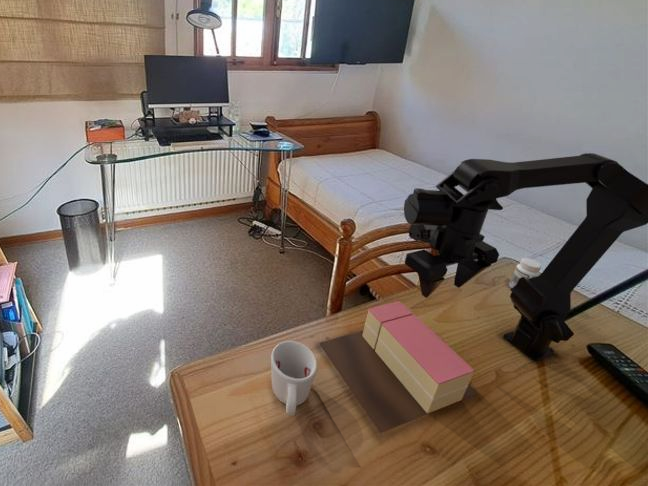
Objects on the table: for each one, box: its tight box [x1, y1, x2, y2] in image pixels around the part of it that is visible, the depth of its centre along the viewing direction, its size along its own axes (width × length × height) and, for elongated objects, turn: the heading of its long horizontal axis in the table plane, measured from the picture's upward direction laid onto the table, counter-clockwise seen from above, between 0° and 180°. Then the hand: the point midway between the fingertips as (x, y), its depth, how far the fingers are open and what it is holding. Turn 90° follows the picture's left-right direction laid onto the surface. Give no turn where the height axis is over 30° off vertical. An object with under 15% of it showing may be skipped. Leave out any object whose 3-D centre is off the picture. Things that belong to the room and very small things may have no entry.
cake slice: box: [362, 300, 414, 349], centre depth 71 cm, size 8×4×8 cm, turn 109°
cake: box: [375, 314, 475, 415], centre depth 63 cm, size 8×13×8 cm, turn 18°
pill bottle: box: [509, 257, 542, 289], centre depth 88 cm, size 5×5×8 cm
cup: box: [270, 340, 318, 417], centre depth 59 cm, size 11×8×8 cm
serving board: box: [318, 329, 478, 434], centre depth 66 cm, size 22×18×1 cm
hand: (440, 291), depth 70 cm, fingers open, 9 cm apart
